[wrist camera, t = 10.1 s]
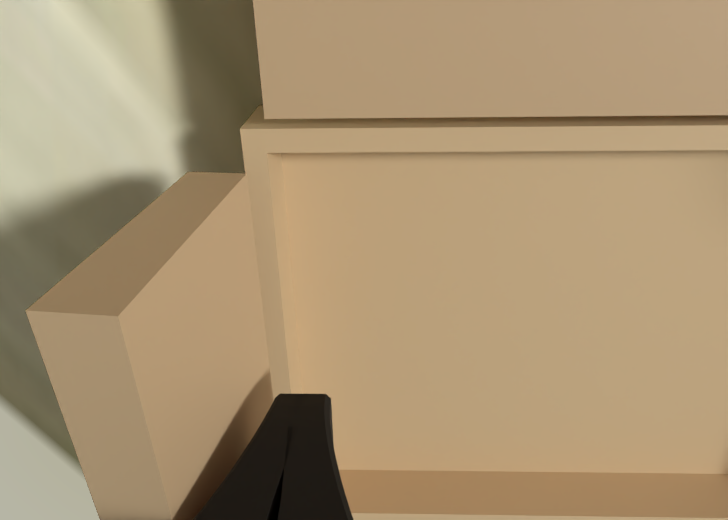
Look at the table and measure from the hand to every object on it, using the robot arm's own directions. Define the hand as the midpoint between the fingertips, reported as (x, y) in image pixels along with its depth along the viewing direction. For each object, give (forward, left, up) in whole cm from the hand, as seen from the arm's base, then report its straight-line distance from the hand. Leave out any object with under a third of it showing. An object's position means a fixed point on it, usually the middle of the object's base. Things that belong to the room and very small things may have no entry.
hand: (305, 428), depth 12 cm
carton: (+2, -7, -4) cm, 8 cm away
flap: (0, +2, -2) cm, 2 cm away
